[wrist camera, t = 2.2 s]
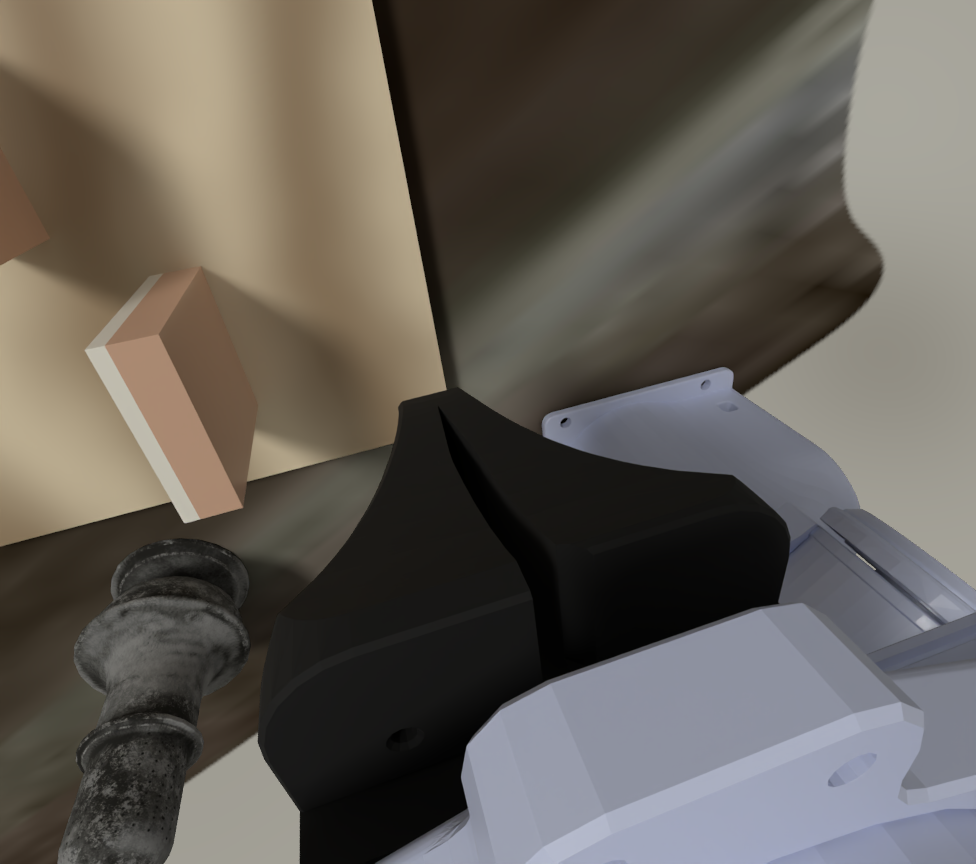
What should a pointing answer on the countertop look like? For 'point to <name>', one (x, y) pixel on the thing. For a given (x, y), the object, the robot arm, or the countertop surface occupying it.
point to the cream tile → (181, 391)
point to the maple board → (203, 232)
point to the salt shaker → (152, 695)
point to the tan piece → (16, 216)
